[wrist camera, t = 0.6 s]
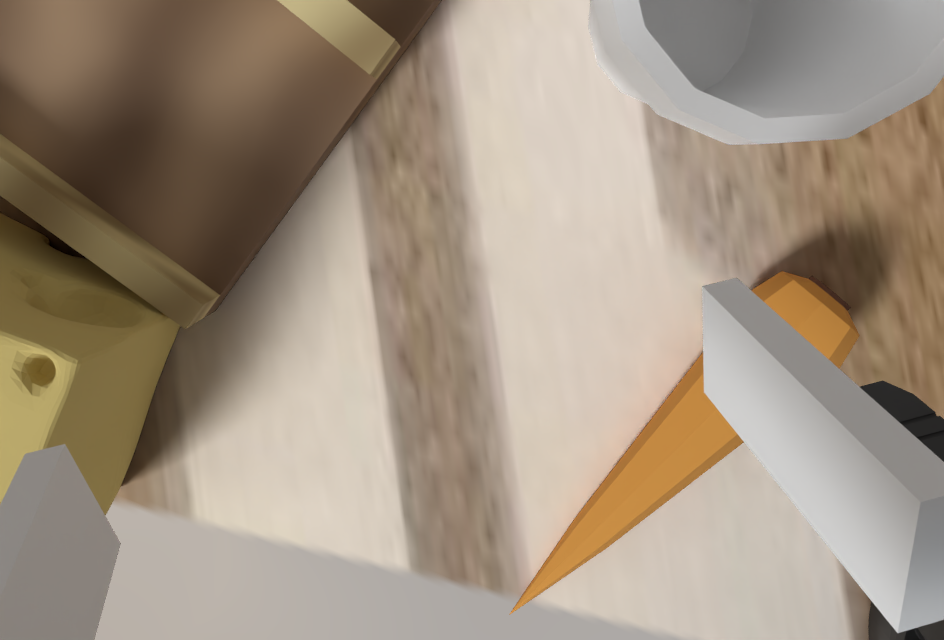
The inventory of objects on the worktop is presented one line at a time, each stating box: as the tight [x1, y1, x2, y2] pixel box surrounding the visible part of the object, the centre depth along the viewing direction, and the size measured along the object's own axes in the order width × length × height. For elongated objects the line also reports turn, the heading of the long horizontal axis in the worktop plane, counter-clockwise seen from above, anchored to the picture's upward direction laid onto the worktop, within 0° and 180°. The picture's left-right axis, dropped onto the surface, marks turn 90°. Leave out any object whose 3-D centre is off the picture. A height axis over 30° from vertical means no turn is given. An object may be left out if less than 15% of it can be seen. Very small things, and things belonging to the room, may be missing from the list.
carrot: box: [510, 271, 859, 614], centre depth 33 cm, size 20×4×4 cm, turn 141°
